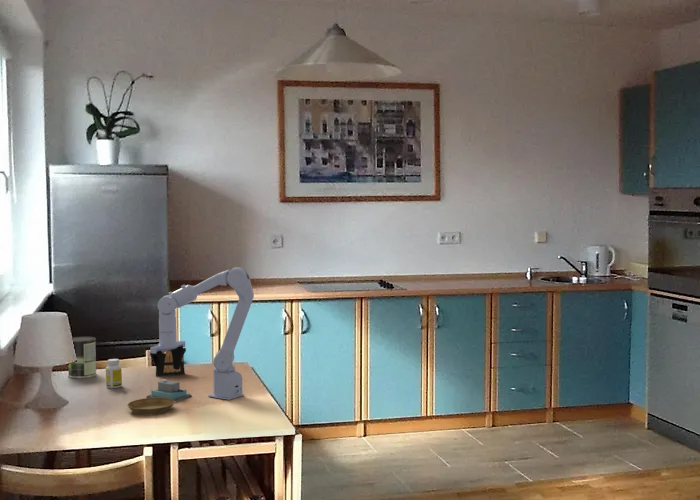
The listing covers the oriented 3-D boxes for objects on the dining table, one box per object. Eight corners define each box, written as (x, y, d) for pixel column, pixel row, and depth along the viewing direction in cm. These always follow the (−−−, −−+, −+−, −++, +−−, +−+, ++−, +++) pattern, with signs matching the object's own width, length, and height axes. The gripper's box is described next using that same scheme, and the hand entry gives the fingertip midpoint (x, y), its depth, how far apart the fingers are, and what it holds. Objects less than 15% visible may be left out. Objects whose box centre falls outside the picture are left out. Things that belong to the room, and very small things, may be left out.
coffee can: (70, 379, 318) (69, 341, 317) (66, 374, 327) (65, 337, 326) (98, 376, 322) (97, 339, 321) (94, 371, 332) (93, 335, 331)
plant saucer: (127, 418, 264) (127, 410, 263) (127, 407, 278) (127, 399, 278) (176, 415, 268) (176, 406, 267) (173, 403, 282) (173, 396, 282)
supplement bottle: (124, 385, 308) (123, 358, 307) (118, 388, 303) (117, 361, 302) (109, 385, 309) (108, 358, 308) (103, 388, 303) (103, 361, 302)
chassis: (191, 396, 290) (191, 389, 290) (172, 402, 283) (172, 395, 282) (166, 392, 297) (165, 385, 297) (146, 397, 289) (146, 390, 289)
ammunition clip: (156, 376, 323) (155, 345, 322) (155, 375, 324) (155, 344, 324) (184, 374, 326) (184, 343, 325) (184, 373, 327) (183, 342, 327)
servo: (187, 396, 288) (186, 381, 288) (178, 399, 285) (178, 383, 284) (164, 392, 294) (164, 378, 293) (155, 395, 290) (155, 380, 290)
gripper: (174, 327, 296) (175, 366, 297) (143, 333, 284) (144, 373, 285) (189, 329, 293) (190, 368, 294) (158, 335, 280) (159, 376, 281)
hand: (168, 371), depth 289 cm, fingers open, 7 cm apart
